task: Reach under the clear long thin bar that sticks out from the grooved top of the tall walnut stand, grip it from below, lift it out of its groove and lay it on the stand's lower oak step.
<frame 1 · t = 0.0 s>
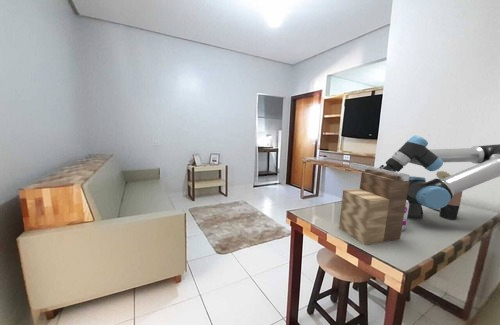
hand: (366, 191, 113), 15 cm above the table, tool tilted 35°, fingers open, 13 cm apart
flower in vase: (438, 209, 133), on the table
walnut stand: (376, 231, 99), on the table
supplement can: (394, 227, 105), on the table
travel mug: (447, 217, 120), on the table
clear long thin bar: (374, 173, 100), point 28 cm above the table, touching walnut stand
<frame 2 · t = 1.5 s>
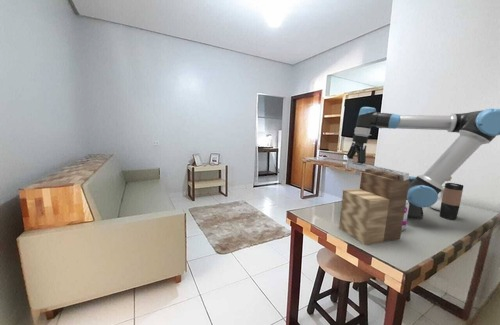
hand: (351, 171, 120), 24 cm above the table, tool pointing down, fingers open, 13 cm apart
clear long thin bar: (374, 172, 100), point 28 cm above the table, tilted 13°, touching gripper, walnut stand
everything else where it was.
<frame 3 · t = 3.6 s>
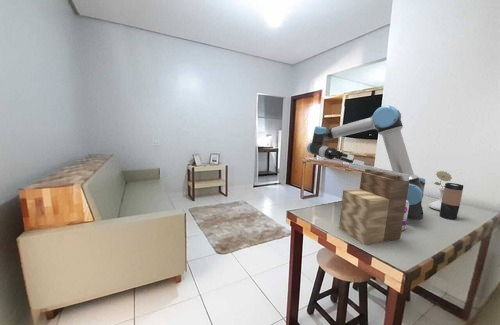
hand: (358, 161, 117), 31 cm above the table, tool horizontal, fingers open, 13 cm apart
clear long thin bar: (374, 173, 100), point 28 cm above the table, touching walnut stand
everything else where it was.
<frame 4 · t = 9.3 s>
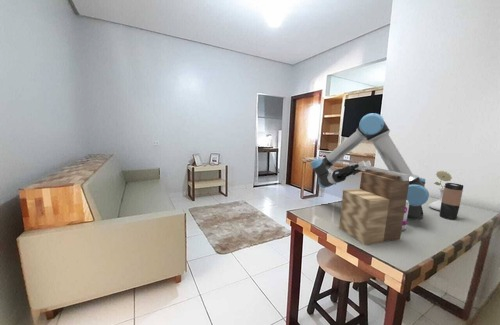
hand: (367, 163, 104), 32 cm above the table, tool pointing upward, fingers closed on clear long thin bar, 3 cm apart
clear long thin bar: (375, 173, 100), point 28 cm above the table, touching gripper, walnut stand
everything else where it was.
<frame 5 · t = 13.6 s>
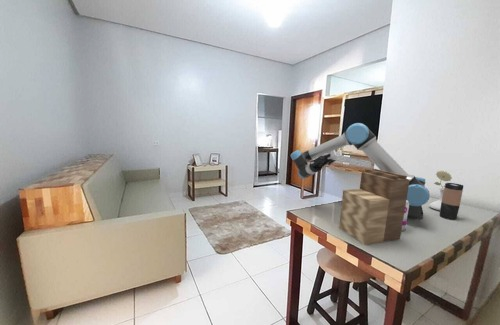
hand: (337, 152, 110), 36 cm above the table, tool pointing upward, fingers closed on clear long thin bar, 3 cm apart
clear long thin bar: (344, 161, 106), point 32 cm above the table, touching gripper
everything else where it was.
when the fingers open (25 cm above the table, at t = 18.1 s): clear long thin bar drops 2 cm, resting on walnut stand.
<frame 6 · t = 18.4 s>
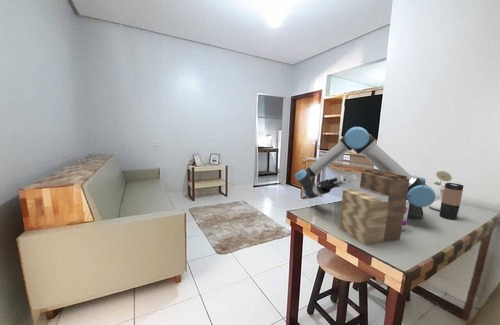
hand: (348, 177, 103), 25 cm above the table, tool pointing upward, fingers open, 7 cm apart
clear long thin bar: (356, 191, 98), point 19 cm above the table, touching walnut stand
everything else where it was.
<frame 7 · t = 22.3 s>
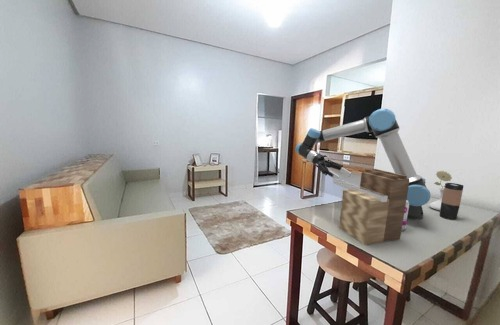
hand: (344, 176, 118), 22 cm above the table, tool tilted 70°, fingers open, 13 cm apart
nothing on the table moved.
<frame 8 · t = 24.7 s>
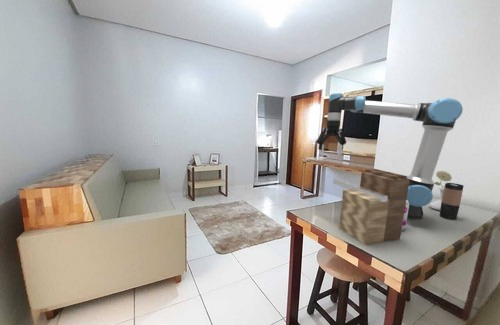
hand: (330, 155, 128), 33 cm above the table, tool pointing down, fingers open, 13 cm apart
nothing on the table moved.
at the end: clear long thin bar inside the target area on the walnut stand (0.1 cm from its centre), point 19.5 cm above the walnut stand's base; clear long thin bar tilted 0°; the gripper is holding nothing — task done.
